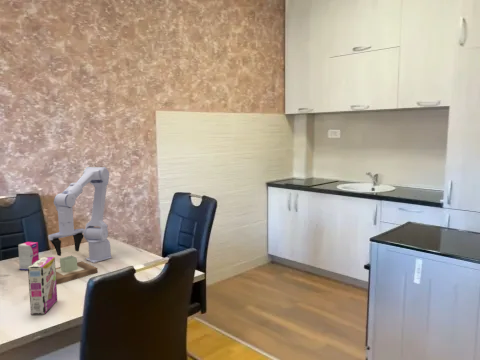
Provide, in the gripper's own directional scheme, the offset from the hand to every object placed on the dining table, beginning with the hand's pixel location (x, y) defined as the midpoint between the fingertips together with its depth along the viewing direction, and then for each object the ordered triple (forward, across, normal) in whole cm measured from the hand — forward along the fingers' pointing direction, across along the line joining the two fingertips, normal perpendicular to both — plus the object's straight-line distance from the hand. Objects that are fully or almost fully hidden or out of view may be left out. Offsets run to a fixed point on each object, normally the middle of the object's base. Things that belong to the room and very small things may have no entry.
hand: (68, 253), depth 166 cm
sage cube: (+7, 0, 0) cm, 7 cm away
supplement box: (+10, +8, -22) cm, 25 cm away
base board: (+9, 0, 0) cm, 9 cm away
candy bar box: (+10, +20, +25) cm, 34 cm away
